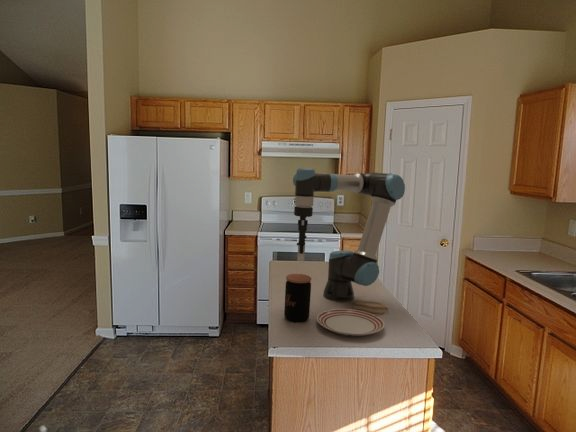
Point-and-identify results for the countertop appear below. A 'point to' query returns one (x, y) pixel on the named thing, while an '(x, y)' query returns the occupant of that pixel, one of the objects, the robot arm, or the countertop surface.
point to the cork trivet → (370, 307)
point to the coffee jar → (297, 297)
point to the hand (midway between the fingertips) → (300, 257)
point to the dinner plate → (350, 322)
